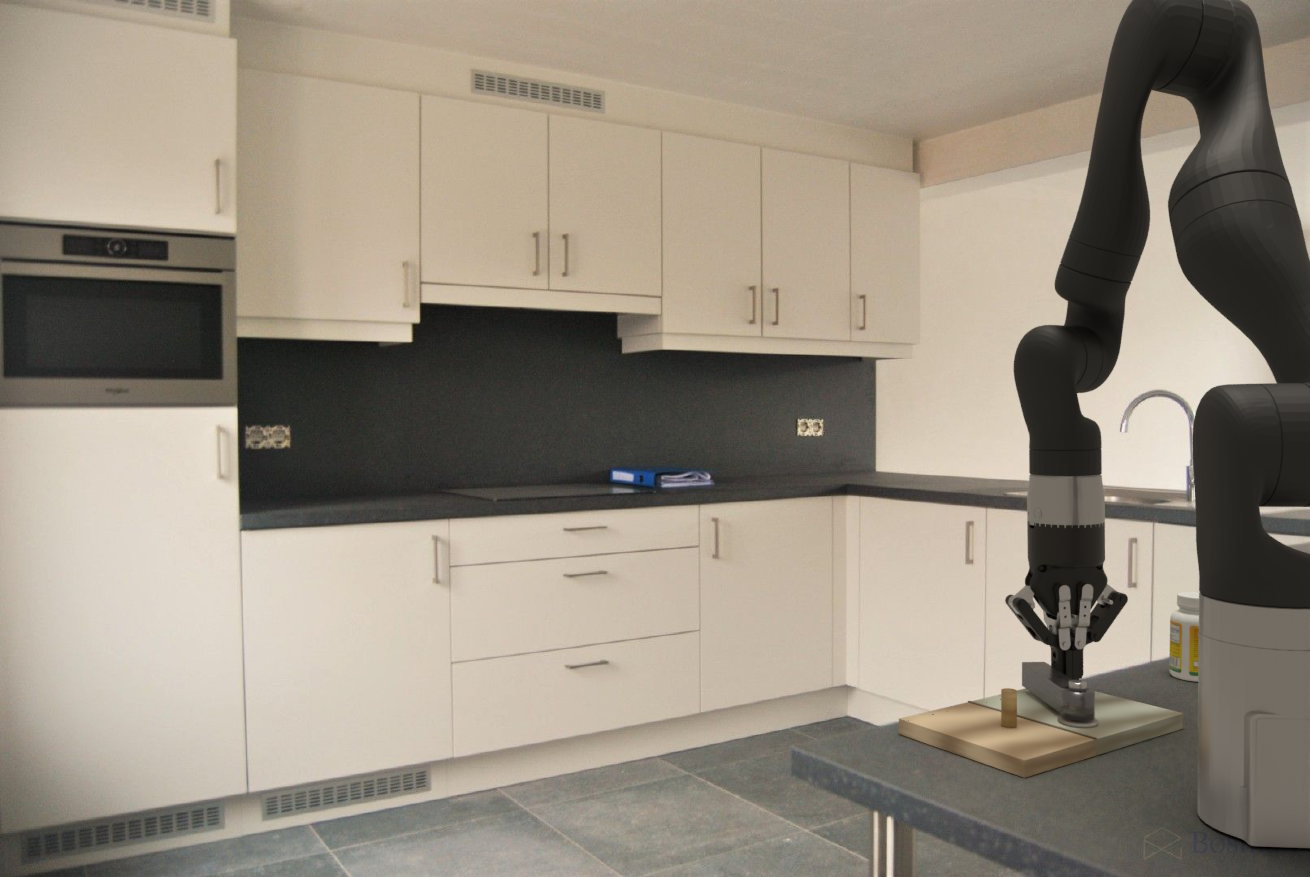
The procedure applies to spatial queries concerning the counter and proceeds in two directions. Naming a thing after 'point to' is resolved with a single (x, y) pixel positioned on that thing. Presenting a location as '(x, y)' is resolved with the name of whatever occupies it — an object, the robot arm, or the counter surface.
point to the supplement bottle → (1185, 637)
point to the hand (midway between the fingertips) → (1067, 682)
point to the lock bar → (1059, 691)
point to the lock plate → (1036, 730)
